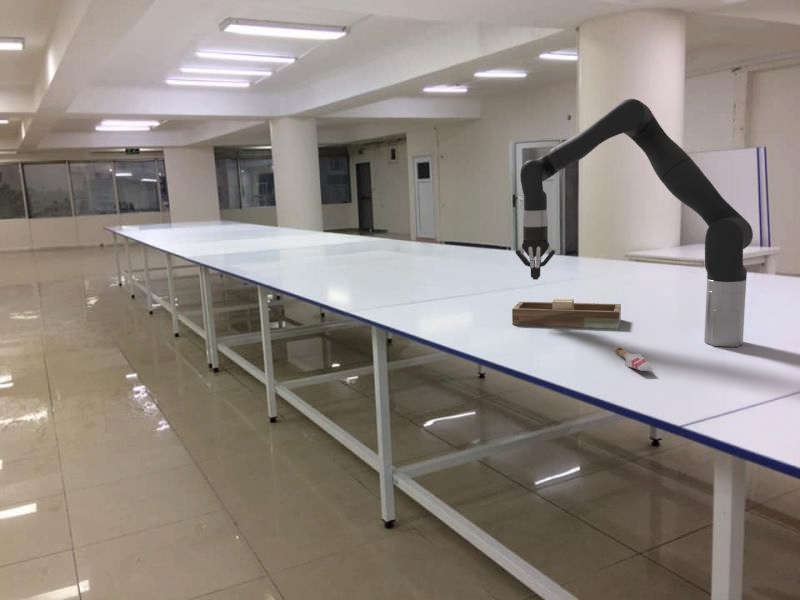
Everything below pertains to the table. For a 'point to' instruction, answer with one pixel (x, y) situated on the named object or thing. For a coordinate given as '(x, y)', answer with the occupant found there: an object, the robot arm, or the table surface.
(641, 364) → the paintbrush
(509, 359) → the table surface
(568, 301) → the beech block
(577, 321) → the box
